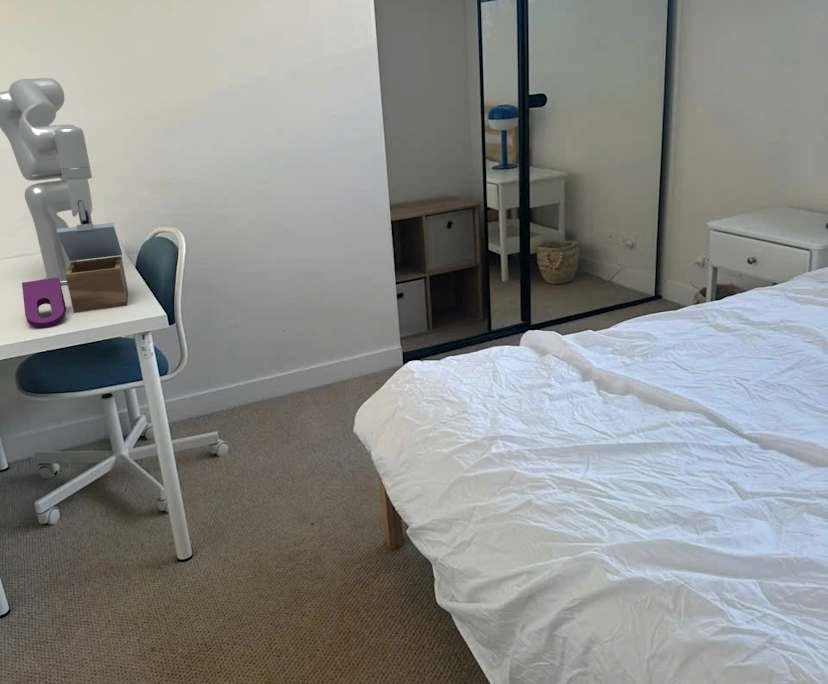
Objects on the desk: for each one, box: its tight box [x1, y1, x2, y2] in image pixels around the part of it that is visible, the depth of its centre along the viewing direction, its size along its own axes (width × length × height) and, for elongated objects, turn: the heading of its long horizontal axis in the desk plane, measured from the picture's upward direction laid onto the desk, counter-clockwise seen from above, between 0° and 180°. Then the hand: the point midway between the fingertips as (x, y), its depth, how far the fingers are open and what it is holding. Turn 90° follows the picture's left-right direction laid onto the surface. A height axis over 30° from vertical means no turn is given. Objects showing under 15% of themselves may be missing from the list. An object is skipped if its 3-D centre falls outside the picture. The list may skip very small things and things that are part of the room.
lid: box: [57, 222, 123, 262], centre depth 212 cm, size 17×15×2 cm
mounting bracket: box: [21, 277, 67, 329], centre depth 203 cm, size 9×8×18 cm
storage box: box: [66, 255, 129, 314], centre depth 214 cm, size 16×14×11 cm
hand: (89, 238), depth 212 cm, fingers closed
